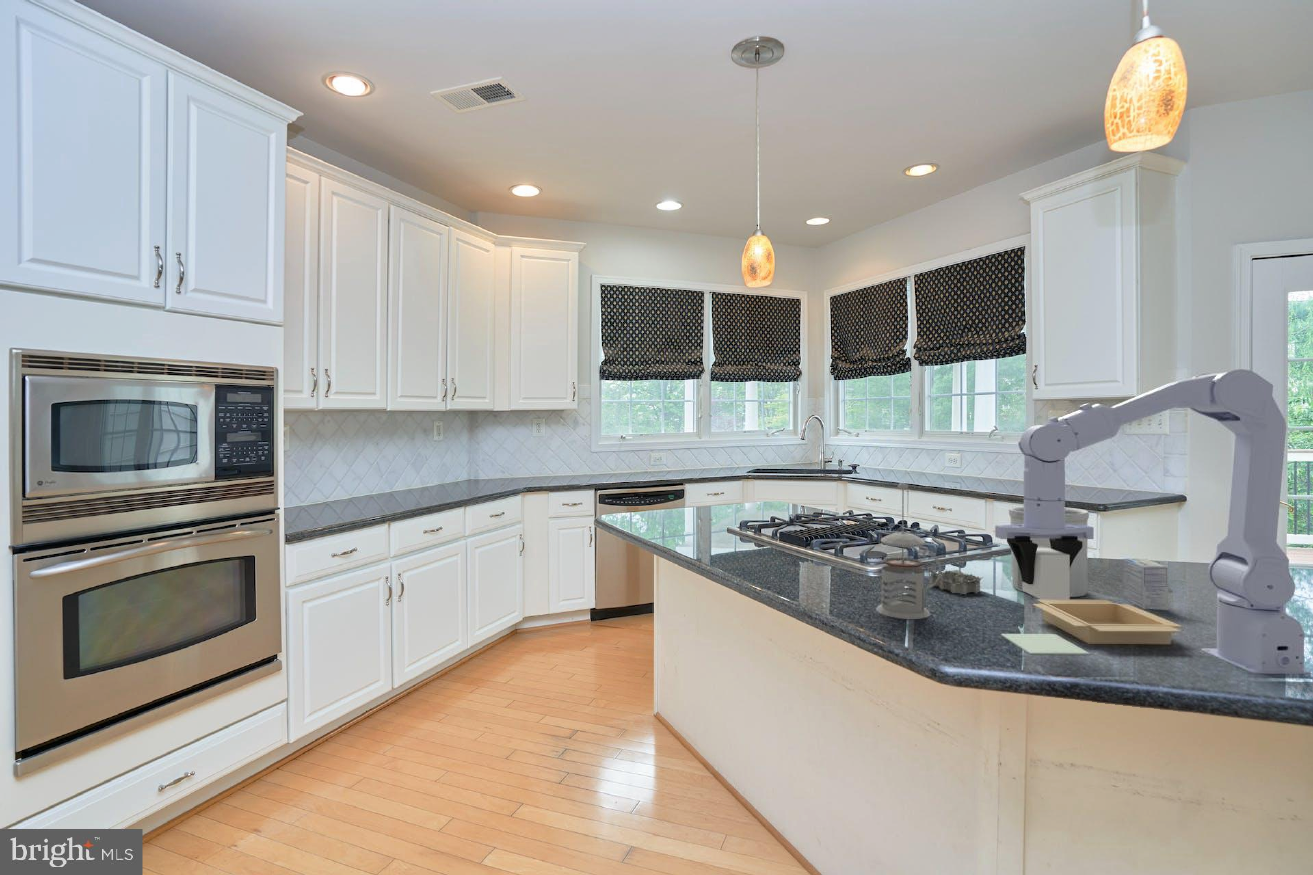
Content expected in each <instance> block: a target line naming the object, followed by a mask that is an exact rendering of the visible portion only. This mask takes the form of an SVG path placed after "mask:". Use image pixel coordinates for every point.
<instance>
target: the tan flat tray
mask: <svg viewBox="0 0 1313 875" xmlns="http://www.w3.org/2000/svg"><path fill="white" fill-rule="evenodd" d="M1036 601H1037V602H1038V603H1032V606H1033V607H1035V608H1037V609H1039V610H1041V611H1042V620H1044V621H1045V622H1047V623H1049V624H1051V625H1053V626H1055V627H1057V629H1060V630H1062V631H1064V632H1066V633H1067V634H1070V635H1071V636H1074V637H1075V638H1077V639H1079V640H1081V641H1083V642H1085V643H1086V644H1087V645H1093V644H1094V645H1171V644H1172V633H1179V634H1180V633H1183V631H1182V630H1180V629H1183V627H1184V626H1183V625H1180V624H1179V623H1178V624H1177V623H1175V622H1173V621H1172V620H1168V619H1165V618H1163V617H1161V616H1158V615H1156V614H1153V613H1151V612H1148V611H1145V610H1143V609H1142V608H1141V609H1140V608H1138V607H1136V606H1133V605H1131V604H1128V603H1127V604H1126V603H1124V604H1123V603H1121V604H1120V603H1117V602H1112V601H1110V600H1108V599H1039V598H1036Z"/></svg>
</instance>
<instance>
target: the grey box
mask: <svg viewBox="0 0 1313 875" xmlns="http://www.w3.org/2000/svg"><path fill="white" fill-rule="evenodd" d="M1018 588H1019V589H1021V590H1023V591H1025V592H1024V593H1026V592H1027V594H1029V595H1031V596H1033V597H1035V598H1036V599H1054V600H1071V599H1070V598H1071V597H1070V555H1068V554H1065V553H1062V552H1059V551H1056V550H1053V549H1051V548H1048V547H1037V551H1036V555H1035V561H1034V582H1033V584H1027V583H1025V582H1023V581H1022V577H1021V573H1020V569H1019V566H1018ZM1023 591H1022V592H1023Z"/></svg>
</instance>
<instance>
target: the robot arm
mask: <svg viewBox="0 0 1313 875" xmlns="http://www.w3.org/2000/svg"><path fill="white" fill-rule="evenodd" d="M1273 390H1274V385H1273V383H1271V382H1270V381H1268V380H1266V378H1264V377H1262V376H1261V375H1260V374H1258V373H1257V372H1255V371H1252V370H1249V369H1243V368H1241V369H1240V368H1239V369H1232V370H1229V371H1224V372H1223V371H1222V372H1214V373H1200V374H1197V375H1194V376H1193V377H1188V378H1183V379H1179V380H1175V381H1172V382H1169V383H1168V382H1167V383H1165V384H1163V385H1161V386H1159V387H1156V388H1153V389H1152V390H1149V391H1146V392H1144V393H1141V394H1139V395H1137V396H1135V397H1132V398H1129V399H1127V400H1124V401H1122V402H1120V403H1118V404H1115V405H1113V406H1111V407H1110V406H1107V405H1104V404H1101V403H1095V404H1093V405H1092V404H1091V403H1090V402H1089V403H1084V404H1081V405H1079V406H1078V408H1079V410H1076V411H1074V412H1072V413H1069V414H1066V415H1063V416H1061V417H1057V416H1053V417H1049V418H1048V423H1047V424H1045V425H1044V424H1043V425H1042V424H1040V425H1039V424H1038V425H1037V424H1036V425H1033V426H1030V427H1029V428H1026V430H1025V431H1024V432H1023V433H1022V434H1021V437H1020V440H1019V441H1018V448H1019V450H1020V452H1021V454H1023V456H1024V458H1023V460H1024V463H1023V464H1024V469H1023V506H1024V524H1015V525H1011V524H1003V525H1000V524H997V525H996V524H995V526H994V529H995V531H994V533H995V534H994V536H995V537H994V538H997V539H1000V540H1006V543H1007V545H1008V546H1009V548H1010V550H1012V551H1013V553H1014V555H1015V558H1016V560H1017V563H1018V566H1019V569H1020V573H1021V577H1022V581H1023V582H1025V583H1027V584H1033V582H1034V561H1035V555H1036V551H1037V547H1038V545H1037V544H1035V543H1033V542H1032V540H1030V538H1049V541H1050V545H1051V549H1053V550H1056V551H1059V552H1062V553H1065V554H1068V555H1070V567H1071V565H1072V563H1073V561H1074V559H1075V557H1076V556H1077V554H1078V553H1079V551H1080V550H1081V549H1082V546H1083V542H1082V541H1079V540H1078V538H1085V539H1087V540H1094V539H1095V538H1094V535H1095V534H1094V527H1093V526H1090V525H1087V526H1086V525H1065V507H1066V471H1065V470H1066V468H1065V464H1066V462H1065V461H1066V457H1068V456H1069V455H1070V454H1071V452H1076V451H1079V450H1081V449H1085V448H1087V447H1090V446H1092V445H1093V446H1094V445H1095V444H1098V443H1100V442H1104V441H1106V440H1109V439H1112V438H1114V437H1116V436H1117V434H1118V433H1119V430H1120V429H1121V426H1124V425H1126V424H1129V423H1133V422H1135V421H1139V420H1141V419H1144V418H1148V417H1151V416H1153V415H1156V414H1160V413H1162V412H1166V411H1168V410H1171V409H1174V408H1177V409H1189V410H1191V411H1193V412H1195V413H1196V414H1199V415H1203V416H1205V417H1207V418H1210V419H1213V420H1216V421H1218V423H1219V424H1221V425H1222V426H1223V427H1225V428H1226V429H1228V430H1229V431H1230V432H1232V433H1233V434H1234V435H1235V440H1234V452H1233V461H1232V462H1233V465H1232V476H1231V488H1230V489H1231V490H1230V501H1229V511H1228V513H1229V515H1228V524H1227V525H1228V526H1227V527H1228V528H1227V535H1226V536H1225V538H1223V539H1222V540H1221V541H1220V542H1219V543H1218V544H1217V546H1216V552H1215V553H1216V554H1215V556H1214V557H1213V558H1212V560H1211V561H1210V563H1209V565H1208V566H1207V567H1208V568H1207V577H1208V579H1209V582H1210V583H1211V584H1212V586H1214V587H1215V588H1216V589H1217V592H1216V594H1217V595H1216V600H1217V601H1216V606H1217V607H1216V648H1206V647H1205V648H1201V649H1200V651H1201V652H1203V653H1205V654H1208V655H1210V656H1212V657H1215V658H1217V659H1219V660H1222V661H1223V662H1226V663H1228V664H1231V665H1232V666H1236V667H1239V668H1241V669H1242V670H1244V671H1247V672H1249V673H1251V674H1265V675H1266V674H1270V675H1271V674H1274V675H1275V674H1276V675H1277V674H1278V675H1279V674H1281V675H1284V674H1287V675H1291V674H1292V675H1293V674H1294V675H1295V674H1296V675H1297V674H1298V675H1303V674H1304V675H1310V674H1311V673H1310V670H1307V669H1305V668H1304V667H1305V666H1304V665H1305V663H1304V662H1305V661H1304V660H1305V632H1304V629H1303V628H1304V627H1303V625H1302V624H1301V623H1300V621H1299V620H1298V619H1296V618H1295V617H1293V616H1290V615H1288V614H1287V613H1286V612H1285V610H1284V605H1286V604H1287V603H1288V602H1289V601H1291V599H1292V598H1293V596H1294V594H1295V591H1296V585H1295V580H1294V579H1293V577H1292V574H1291V573H1290V568H1289V567H1290V559H1289V558H1288V556H1287V555H1286V553H1285V552H1284V550H1283V549H1282V548H1281V547H1280V545H1279V544H1278V542H1277V538H1278V529H1279V528H1278V527H1279V525H1278V524H1279V515H1280V504H1281V494H1282V493H1281V492H1282V490H1281V489H1282V479H1283V468H1284V466H1283V465H1284V456H1285V455H1284V454H1285V446H1286V445H1285V444H1286V435H1287V433H1286V432H1287V422H1286V419H1285V418H1284V415H1283V413H1282V412H1281V409H1280V408H1279V405H1278V404H1277V402H1276V400H1275V398H1274V396H1273V392H1274V391H1273ZM1026 534H1028V535H1026ZM1035 534H1059V535H1035Z"/></svg>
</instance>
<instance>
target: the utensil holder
mask: <svg viewBox="0 0 1313 875" xmlns="http://www.w3.org/2000/svg"><path fill="white" fill-rule="evenodd" d="M1008 514H1009V517H1010V525H1015V524H1024V505H1023V506H1014V507H1013V506H1012V507H1010V508H1008ZM1089 517H1090V513H1089V511H1088V510H1086V509H1082V508H1074V507H1066V506H1065V525H1086V526H1088V520H1089ZM1026 535H1028V534H1026ZM1035 535H1059V534H1035ZM1030 540H1032V542H1033V543H1035V544H1037V545H1038V547H1048V548H1051V545H1050V541H1049V538H1030ZM1078 540H1079V541H1082V542H1083V546H1082V549H1081V550H1080V551H1079V553H1078V554H1077V556H1076V557H1075V559H1074V561H1073V563H1072V565H1071V567H1070V598H1077V597H1084V596H1085V595H1086V594H1087V591H1088V590H1087V586H1088V539H1085V538H1078ZM1010 550H1011V549H1010ZM1010 552H1011V553H1010V554H1011V556H1010V557H1011V558H1010V559H1011V577H1012V587H1013V588H1014V589H1015V590H1017V589H1018V590H1017V591H1021V592H1024V593H1027V592H1025V591H1023V590H1021V589H1019V588H1018V563H1017V560H1016V558H1015V555H1014V553H1013V551H1012V550H1011V551H1010ZM1027 594H1028V593H1027Z"/></svg>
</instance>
